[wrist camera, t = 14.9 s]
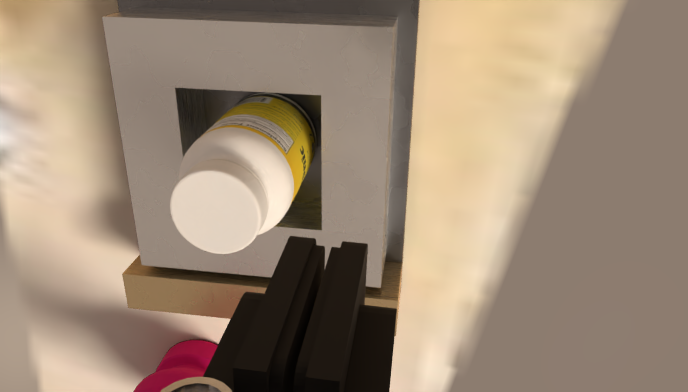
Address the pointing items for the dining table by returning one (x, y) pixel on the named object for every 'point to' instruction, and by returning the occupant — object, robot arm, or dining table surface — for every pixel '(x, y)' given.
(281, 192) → the supplement bottle
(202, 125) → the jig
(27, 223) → the dining table surface
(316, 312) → the robot arm
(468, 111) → the dining table surface
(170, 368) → the pepper mill
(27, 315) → the dining table surface
